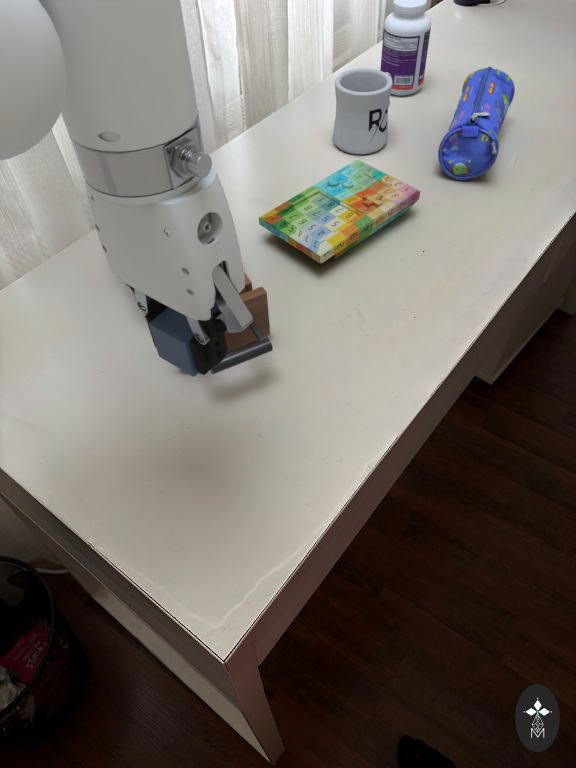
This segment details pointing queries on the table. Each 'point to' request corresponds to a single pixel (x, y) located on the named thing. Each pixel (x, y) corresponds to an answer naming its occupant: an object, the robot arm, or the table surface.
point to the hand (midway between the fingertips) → (191, 349)
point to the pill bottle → (406, 45)
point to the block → (174, 339)
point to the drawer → (249, 330)
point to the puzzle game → (340, 211)
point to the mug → (362, 110)
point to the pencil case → (476, 124)
